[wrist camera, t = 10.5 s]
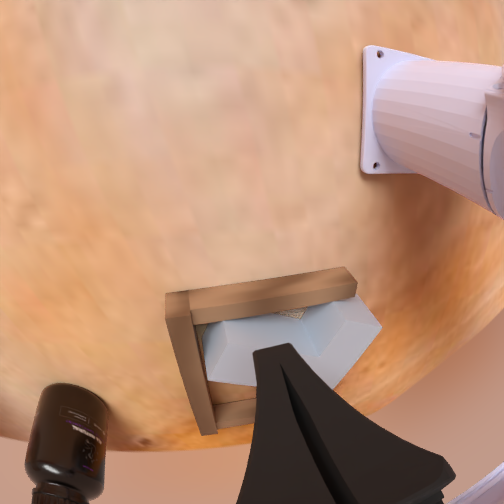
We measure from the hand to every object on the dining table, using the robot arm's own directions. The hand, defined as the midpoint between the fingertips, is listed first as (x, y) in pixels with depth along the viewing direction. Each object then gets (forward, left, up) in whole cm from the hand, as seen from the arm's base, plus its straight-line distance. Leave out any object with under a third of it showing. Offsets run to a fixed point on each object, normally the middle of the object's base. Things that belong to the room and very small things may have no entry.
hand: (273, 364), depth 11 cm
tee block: (-3, +8, -10) cm, 13 cm away
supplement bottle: (+16, +14, -10) cm, 23 cm away
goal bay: (-1, +10, -9) cm, 14 cm away
